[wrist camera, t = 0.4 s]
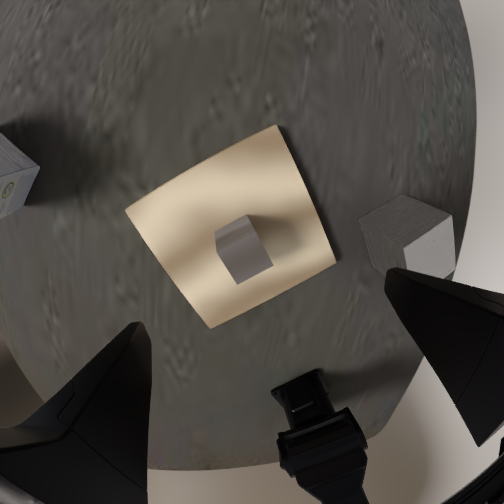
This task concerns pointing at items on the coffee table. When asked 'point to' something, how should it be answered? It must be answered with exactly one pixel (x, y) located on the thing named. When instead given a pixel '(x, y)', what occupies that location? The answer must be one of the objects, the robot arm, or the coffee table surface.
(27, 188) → the medicine box
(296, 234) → the post board
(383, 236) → the grey block
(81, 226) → the coffee table surface
